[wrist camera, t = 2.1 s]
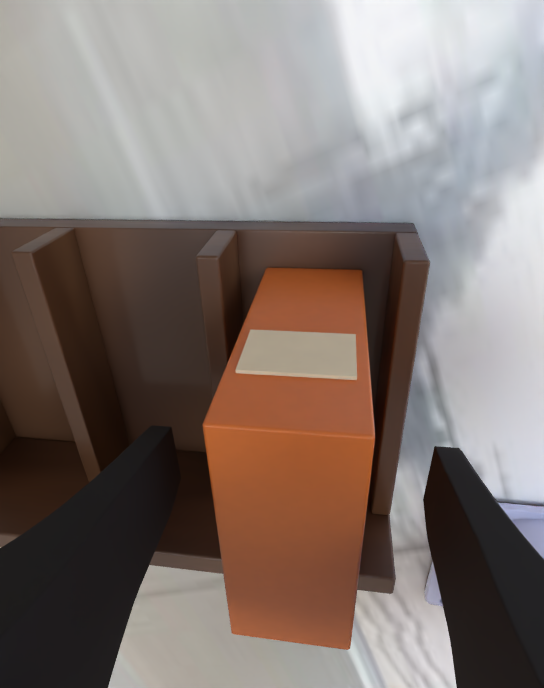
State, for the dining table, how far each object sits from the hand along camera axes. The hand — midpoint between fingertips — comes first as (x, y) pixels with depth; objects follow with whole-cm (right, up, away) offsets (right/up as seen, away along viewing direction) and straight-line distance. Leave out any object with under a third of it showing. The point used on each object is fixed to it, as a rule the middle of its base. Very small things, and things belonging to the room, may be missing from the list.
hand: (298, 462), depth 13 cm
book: (+1, +3, +4) cm, 5 cm away
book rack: (-5, +3, +6) cm, 8 cm away
